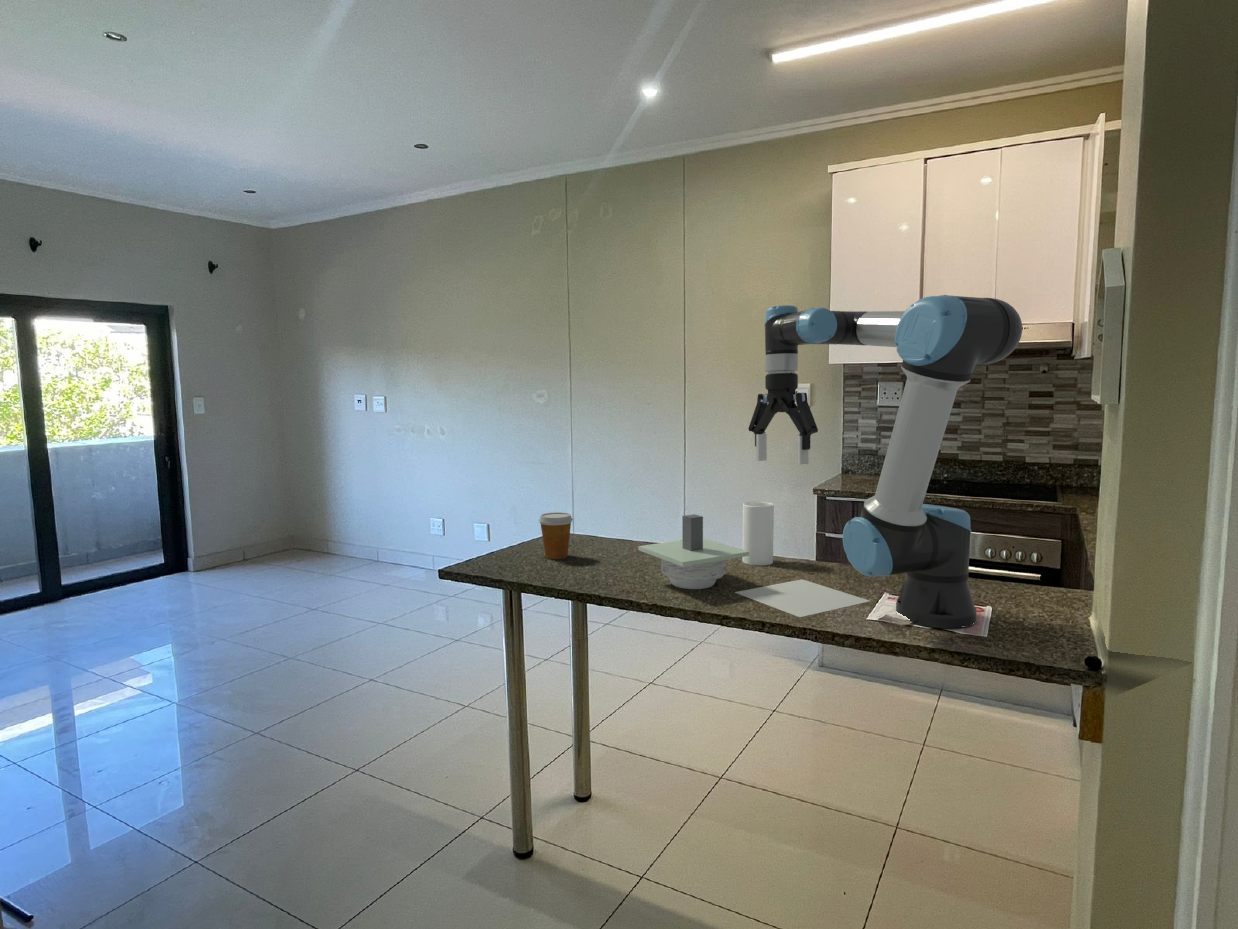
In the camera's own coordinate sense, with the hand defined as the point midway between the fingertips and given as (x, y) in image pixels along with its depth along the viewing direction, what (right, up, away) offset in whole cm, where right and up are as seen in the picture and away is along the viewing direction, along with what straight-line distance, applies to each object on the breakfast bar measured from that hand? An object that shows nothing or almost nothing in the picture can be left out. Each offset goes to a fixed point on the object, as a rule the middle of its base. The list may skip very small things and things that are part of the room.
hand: (781, 462), depth 171 cm
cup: (-1, -27, +24) cm, 36 cm away
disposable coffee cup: (-57, -27, +32) cm, 70 cm away
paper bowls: (-21, -30, +2) cm, 37 cm away
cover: (-21, -22, +1) cm, 30 cm away
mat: (+2, -31, -10) cm, 32 cm away
